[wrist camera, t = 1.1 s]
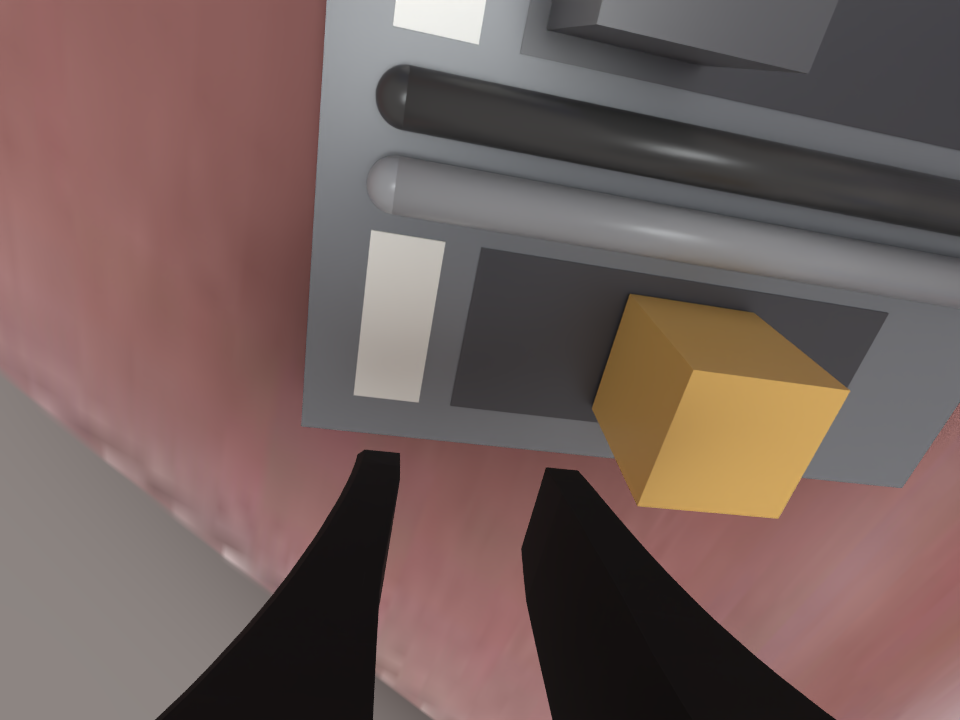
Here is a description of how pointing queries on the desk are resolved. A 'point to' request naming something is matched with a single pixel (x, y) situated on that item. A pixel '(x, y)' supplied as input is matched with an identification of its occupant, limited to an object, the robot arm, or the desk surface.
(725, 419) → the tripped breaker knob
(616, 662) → the robot arm
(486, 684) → the desk surface
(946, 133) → the slider rail fixture
